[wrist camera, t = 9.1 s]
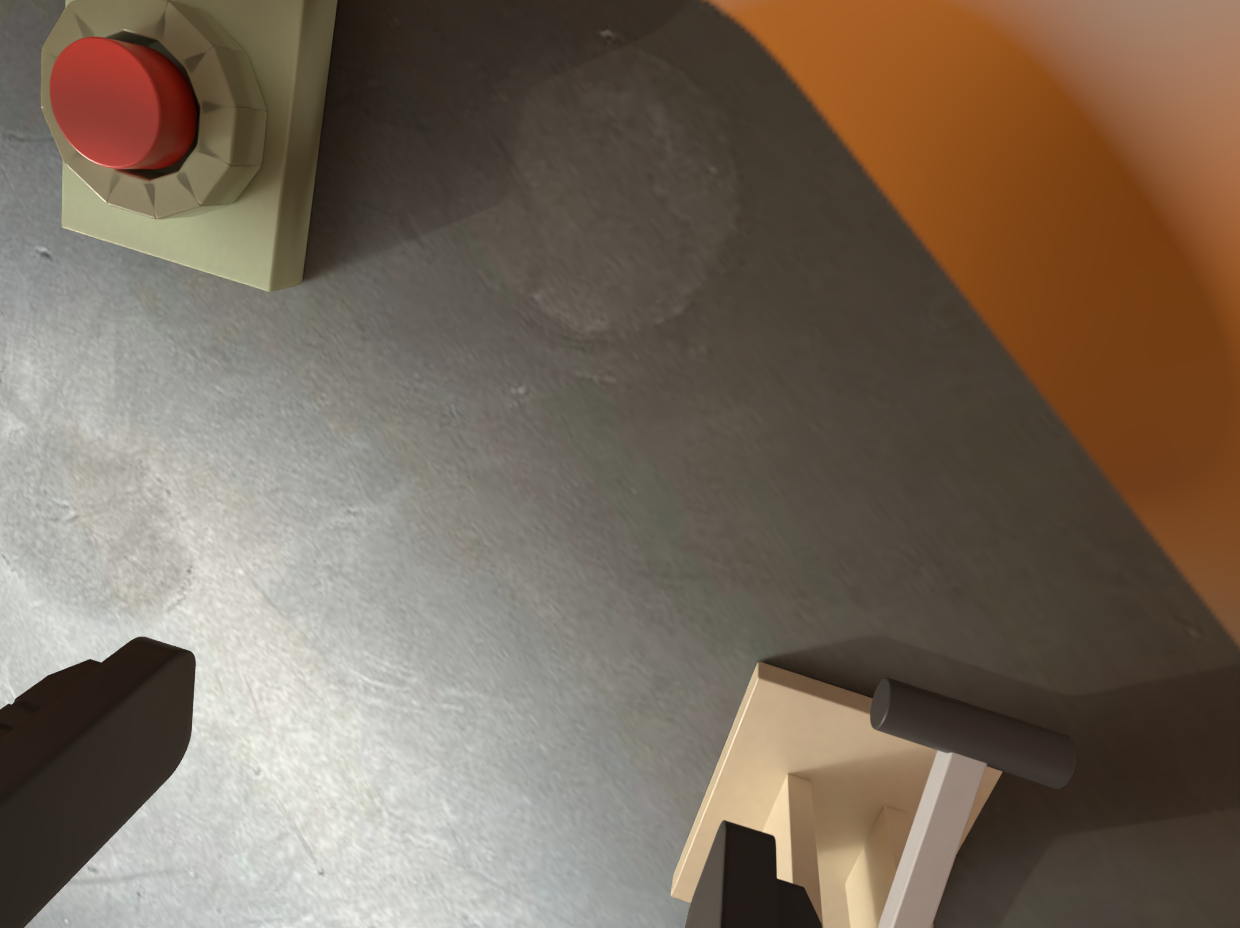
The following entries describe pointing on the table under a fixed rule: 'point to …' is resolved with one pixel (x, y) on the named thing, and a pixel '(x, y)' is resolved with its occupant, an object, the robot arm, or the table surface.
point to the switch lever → (955, 782)
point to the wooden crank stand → (817, 794)
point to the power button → (122, 104)
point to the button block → (212, 135)
